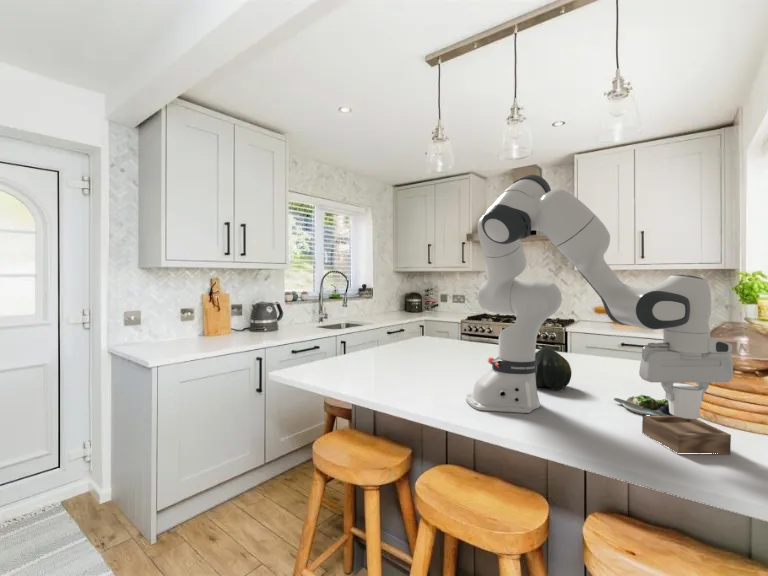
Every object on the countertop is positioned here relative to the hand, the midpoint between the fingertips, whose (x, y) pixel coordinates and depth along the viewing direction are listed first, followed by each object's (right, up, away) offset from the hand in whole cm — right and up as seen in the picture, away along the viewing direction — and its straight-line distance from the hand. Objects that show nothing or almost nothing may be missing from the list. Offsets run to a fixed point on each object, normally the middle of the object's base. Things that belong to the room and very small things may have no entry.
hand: (684, 400), depth 94 cm
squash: (-13, -9, +48) cm, 51 cm away
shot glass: (0, -4, 0) cm, 4 cm away
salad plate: (+10, -10, +23) cm, 27 cm away
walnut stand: (0, -11, +1) cm, 11 cm away
